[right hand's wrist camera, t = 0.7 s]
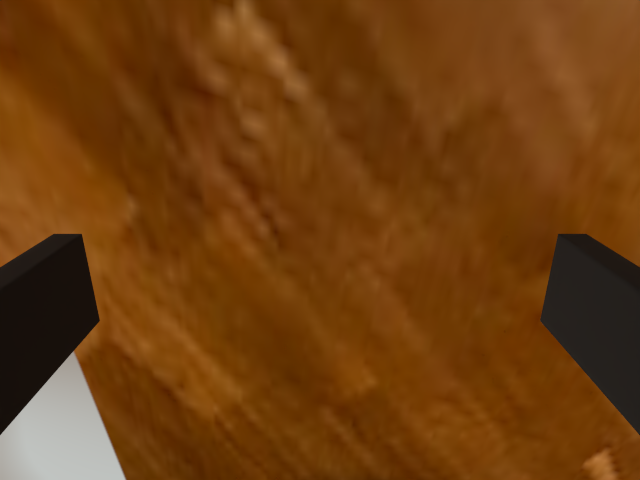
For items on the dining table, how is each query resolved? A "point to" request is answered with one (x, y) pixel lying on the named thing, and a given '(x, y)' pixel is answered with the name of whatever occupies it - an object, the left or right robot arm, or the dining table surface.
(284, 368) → the dining table surface
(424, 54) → the dining table surface
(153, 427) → the dining table surface
